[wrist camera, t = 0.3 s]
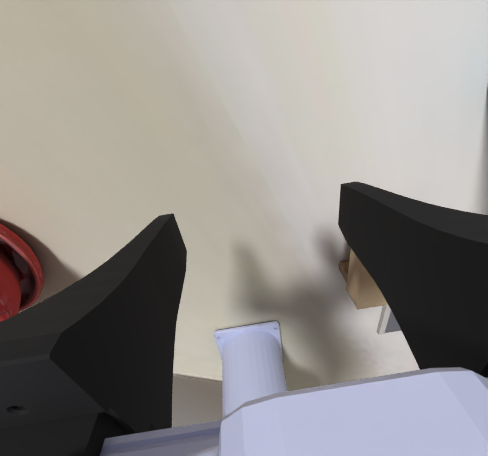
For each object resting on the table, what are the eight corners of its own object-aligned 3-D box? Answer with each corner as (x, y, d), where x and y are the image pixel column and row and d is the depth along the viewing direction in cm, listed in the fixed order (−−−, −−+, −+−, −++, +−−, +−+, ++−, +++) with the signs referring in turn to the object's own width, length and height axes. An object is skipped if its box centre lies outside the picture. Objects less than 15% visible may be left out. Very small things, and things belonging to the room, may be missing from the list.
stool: (378, 264, 27) (406, 301, 23) (336, 271, 27) (357, 309, 23) (390, 208, 23) (426, 240, 19) (341, 216, 23) (367, 250, 19)
